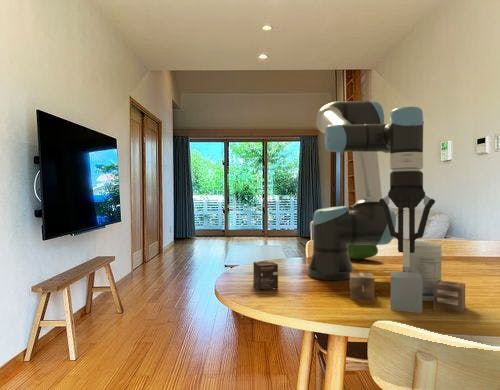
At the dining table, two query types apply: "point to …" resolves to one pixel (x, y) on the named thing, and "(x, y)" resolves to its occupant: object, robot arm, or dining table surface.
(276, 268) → the box
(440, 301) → the marked cube right
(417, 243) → the supplement tub
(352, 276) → the marked cube left
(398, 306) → the plain block
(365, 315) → the dining table surface
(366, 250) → the fruit
